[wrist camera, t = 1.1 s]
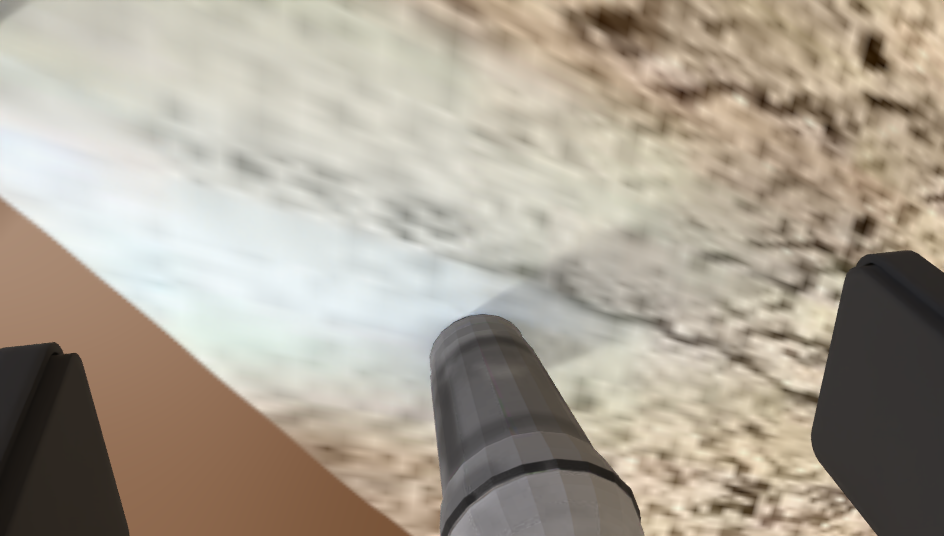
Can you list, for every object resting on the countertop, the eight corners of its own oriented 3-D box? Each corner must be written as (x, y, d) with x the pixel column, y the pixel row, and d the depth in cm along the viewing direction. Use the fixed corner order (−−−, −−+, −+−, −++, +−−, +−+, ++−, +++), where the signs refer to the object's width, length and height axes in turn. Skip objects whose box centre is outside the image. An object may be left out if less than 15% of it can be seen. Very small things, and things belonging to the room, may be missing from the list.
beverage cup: (482, 442, 43) (615, 881, 26) (366, 372, 40) (429, 821, 23) (585, 340, 41) (802, 739, 24) (472, 258, 38) (629, 650, 21)
